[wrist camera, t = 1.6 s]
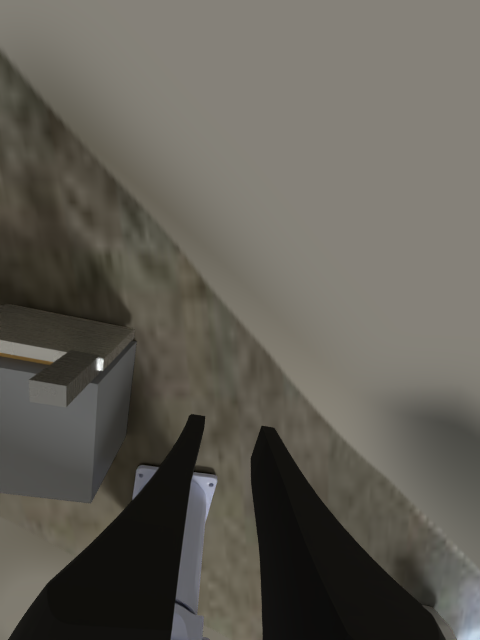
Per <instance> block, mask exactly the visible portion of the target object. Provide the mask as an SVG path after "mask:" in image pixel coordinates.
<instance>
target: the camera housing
mask: <svg viewBox="0 0 480 640" xmlns="http://www.w3.org/2000/svg"><path fill="white" fill-rule="evenodd" d="M136 342H137V341H131V342H130V343H129V344H128V345H127V346H126V347H125V348H124V349H123V350H122V351H121V353H120V354H119V355H118V356H117V357H116V358H115V359H114V360H113V361H112V362H111V363H110V364H109V365H108V366H107V367H106V368H105V369H104V370H103V371H101V370H99V374H98V375H97V376H96V377H95V378H94V379H93V380H92V381H91V382H90V383H89V384H88V385H87V386H86V387H85V389H84V390H83V391H82V392H81V393H80V394H79V395H78V396H77V397H76V398H75V399H74V400H73V401H72V402H71V403H70V404H69V405H68V406H67V407H60V406H54V405H47V404H41V403H35V402H30V397H29V379H30V378H32V377H33V376H35V375H36V374H38V373H39V372H40V371H42V370H43V369H45V368H46V367H47V366H49V365H50V364H52V363H53V362H50V361H45V360H39V359H33V358H28V357H22V356H17V355H11V354H5V353H0V493H6V494H14V495H23V496H31V497H40V498H49V499H57V500H66V501H74V502H83V503H91V502H92V500H93V498H94V496H95V494H96V493H97V491H98V489H99V487H100V485H101V483H102V481H103V479H104V477H105V475H106V473H107V472H108V470H109V468H110V466H111V464H112V462H113V460H114V458H115V456H116V454H117V452H118V451H119V449H120V447H121V445H122V443H123V441H124V439H125V437H126V431H127V422H128V413H129V405H130V396H131V387H132V378H133V369H134V360H135V351H136Z"/></svg>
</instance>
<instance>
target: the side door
mask: <svg viewBox="0 0 480 640" xmlns="http://www.w3.org/2000/svg"><path fill="white" fill-rule="evenodd" d="M134 334H135V329H133V328H128V327H123V326H118V325H113V324H108V323H103V322H98V321H93V320H88V319H83V318H78V317H73V316H68V315H63V314H58V313H53V312H48V311H43V310H38V309H33V308H28V307H23V306H18V305H13V304H5V305H1V306H0V353H5V354H11V355H17V356H22V357H28V358H33V359H39V360H45V361H50V362H53V363H52V364H50V365H49V366H47V367H46V368H45V369H43V370H42V371H40V372H39V373H38V374H36V375H35V376H33V377H32V378H30V379H29V397H30V402H35V403H41V404H47V405H54V406H60V407H67V406H68V405H69V404H70V403H71V402H72V401H73V400H74V399H75V398H76V397H77V396H78V395H79V394H80V393H81V392H82V391H83V390H84V389H85V387H86V386H87V385H88V384H89V383H90V382H91V381H92V380H93V379H94V378H95V377H96V376H97V375H98V374H99V370H101V371H103V370H104V369H105V368H106V367H107V366H108V365H109V364H110V363H111V362H112V361H113V360H114V359H115V358H116V357H117V356H118V355H119V354H120V353H121V351H122V350H123V349H124V348H125V347H126V346H127V345H128V344H129V343H130V342H131V341H132V340H133V339H134Z"/></svg>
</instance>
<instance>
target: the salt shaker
mask: <svg viewBox="0 0 480 640" xmlns="http://www.w3.org/2000/svg"><path fill="white" fill-rule="evenodd" d="M422 606H423V607H424V608H426V609H427V610H428V611H429V612H430V613H431V614H432V615H433V617H434V618H435V620H436V622H437V624H438V625H439V627H440V629H441V631H442V633H443V635H444V637H445V638H446V640H457V639H456V637H455V634H454V632H453V630H452V629H451V627H450V626H449V625H448V624H447V623H446V621H445V620H444V619H443V618H442V617H441V616H440V615H439V614H438V613H437V611H436V610H435V609H434V608H433V607H430V606H426V605H422Z"/></svg>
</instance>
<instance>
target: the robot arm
mask: <svg viewBox="0 0 480 640" xmlns="http://www.w3.org/2000/svg"><path fill="white" fill-rule="evenodd" d="M204 424H205V416H200V415H194V414H191V415H190V416H189V418H188V421H187V423H186V425H185V427H184V429H183V431H182V433H181V435H180V437H179V438H178V440H177V442H176V443H175V445H174V446H173V448H172V450H171V451H170V453H169V454H168V456H167V457H166V458H165V460H164V461H163V463H162V464H161V465H160V467H155V466H147V465H140V466H138V468H137V470H136V476H135V484H134V491H133V498H132V501H131V502H130V504H129V505H128V506H127V507H126V508H125V509H124V510H123V511H122V512H121V513H120V515H119V516H118V517H117V518H116V519H115V520H114V521H113V522H112V523H111V524H110V525H109V526H108V527H107V528H106V529H105V530H104V531H103V532H102V533H101V534H100V535H99V536H98V537H97V538H96V539H95V540H94V541H93V542H92V543H91V544H90V545H89V546H88V547H87V548H86V549H85V550H83V551H82V552H81V553H80V554H79V555H78V556H77V557H76V558H75V559H74V560H73V561H71V562H70V563H69V564H68V565H67V566H66V567H65V568H64V569H63V570H61V571H60V572H59V573H58V574H57V575H56V576H55V577H54V578H53V579H52V580H50V581H49V582H48V583H47V585H46V586H45V587H44V589H43V590H42V591H41V593H40V594H39V595H38V597H37V598H36V599H35V601H34V602H33V603H32V605H31V606H30V607H29V609H28V610H27V612H26V613H25V614H24V616H23V617H22V619H21V620H20V622H19V623H18V625H17V626H16V628H15V630H14V631H13V633H12V634H11V636H10V637H9V639H8V640H209V639H208V638H206V637H202V636H203V635H202V634H203V622H204V617H203V616H199V615H197V610H198V599H199V587H200V576H201V564H202V553H203V541H204V530H205V522H206V518H207V515H208V511H209V508H210V504H211V501H212V497H213V494H214V490H215V487H216V483H217V476H216V475H213V474H205V473H198V472H194V468H195V464H196V460H197V456H198V452H199V448H200V443H201V439H202V435H203V431H204ZM251 485H252V494H253V502H254V510H255V518H256V526H257V535H258V543H259V554H260V572H261V595H262V626H263V640H446V638H445V637H444V635H443V633H442V631H441V629H440V627H439V625H438V624H437V622H436V620H435V618H434V617H433V615H432V614H431V613H430V612H429V611H428V610H427V609H426V608H424V607H423V606H422V605H421V604H420V603H419V602H418V601H417V600H416V599H415V598H413V597H412V596H411V595H410V594H409V593H408V592H407V591H406V590H405V589H403V588H402V587H401V586H400V585H399V584H398V583H397V582H396V581H395V580H394V579H393V578H392V577H391V576H390V575H389V574H388V573H387V572H385V571H384V570H383V569H382V568H381V567H380V566H379V565H378V564H377V563H376V562H375V561H374V560H373V559H372V558H371V557H370V556H369V554H368V553H367V552H366V551H365V550H364V549H363V548H362V547H361V546H360V545H359V544H358V543H357V542H356V541H355V540H354V538H353V537H352V536H351V535H350V534H349V533H348V532H347V531H346V530H345V529H344V527H343V526H342V525H341V524H340V523H339V522H338V520H337V519H336V518H335V517H334V515H333V514H332V513H331V512H330V511H329V509H328V508H327V507H326V506H325V504H324V503H323V502H322V501H321V499H320V498H319V497H318V495H317V494H316V493H315V491H314V490H313V488H312V487H311V485H310V484H309V483H308V481H307V480H306V478H305V477H304V475H303V474H302V472H301V471H300V469H299V468H298V466H297V465H296V463H295V461H294V460H293V458H292V457H291V455H290V453H289V452H288V450H287V448H286V447H285V445H284V443H283V442H282V440H281V438H280V437H279V435H278V433H277V431H276V430H275V428H273V427H267V426H261V429H260V432H259V435H258V438H257V441H256V444H255V447H254V450H253V453H252V456H251Z"/></svg>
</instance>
